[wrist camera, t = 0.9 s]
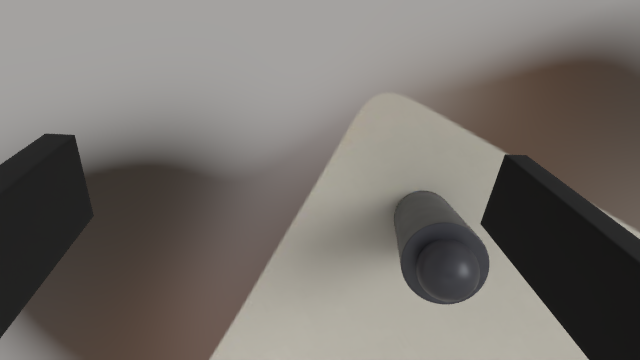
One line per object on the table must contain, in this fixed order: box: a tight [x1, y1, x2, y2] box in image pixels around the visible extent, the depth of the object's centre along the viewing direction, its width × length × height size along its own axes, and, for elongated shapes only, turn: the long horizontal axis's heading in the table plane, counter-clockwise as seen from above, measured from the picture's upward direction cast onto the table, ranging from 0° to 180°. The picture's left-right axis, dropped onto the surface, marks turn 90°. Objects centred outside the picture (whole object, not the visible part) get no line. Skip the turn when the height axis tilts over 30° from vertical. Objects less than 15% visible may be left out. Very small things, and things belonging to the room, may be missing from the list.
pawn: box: [394, 191, 489, 304], centre depth 23 cm, size 4×4×12 cm
